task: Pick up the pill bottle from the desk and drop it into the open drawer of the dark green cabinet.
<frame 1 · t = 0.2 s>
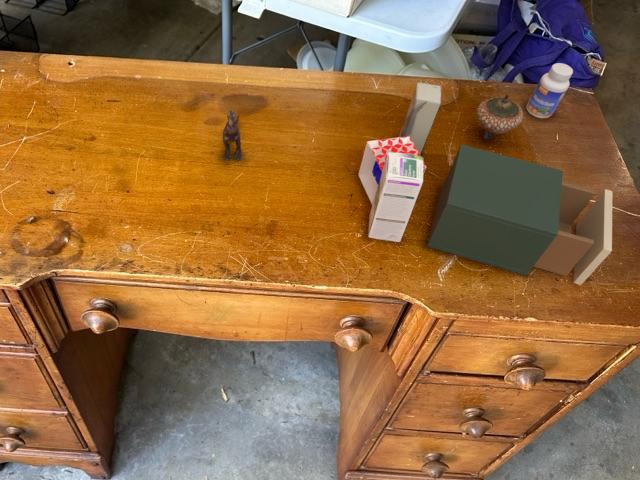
cabinet: (481, 230, 99), on the table
drawer: (551, 225, 93), point 5 cm above the table, slide at 7.0 cm
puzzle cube: (385, 187, 105), on the table
dinosaur model: (233, 145, 110), on the table
pill bottle: (538, 111, 118), on the table
box: (408, 149, 111), on the table
acorn: (487, 139, 113), on the table
syrup box: (383, 229, 99), on the table
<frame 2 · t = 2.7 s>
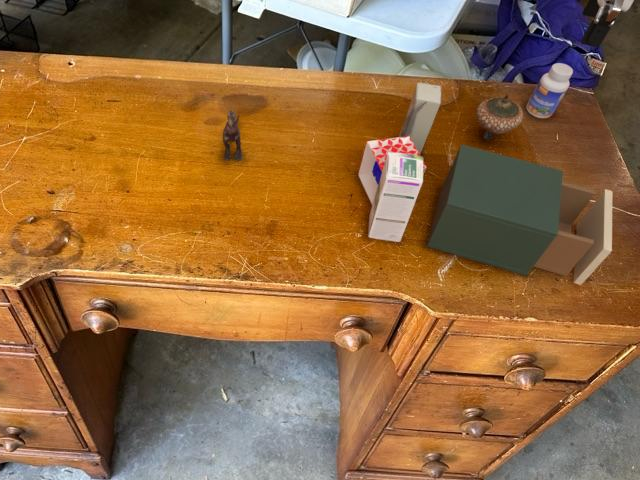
hand: (589, 29, 102), 19 cm above the table, tool pointing down, fingers open, 9 cm apart
nothing on the table moved.
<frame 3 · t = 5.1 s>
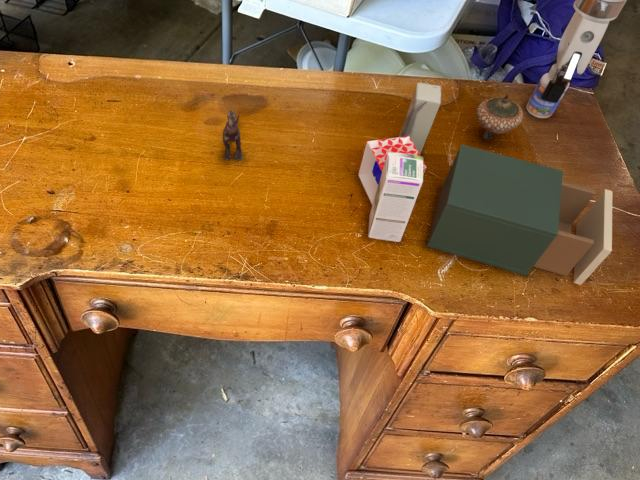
hand: (550, 90, 114), 5 cm above the table, tool pointing down, fingers closed on pill bottle, 5 cm apart
pill bottle: (538, 111, 118), on the table, touching gripper
everything else where it was.
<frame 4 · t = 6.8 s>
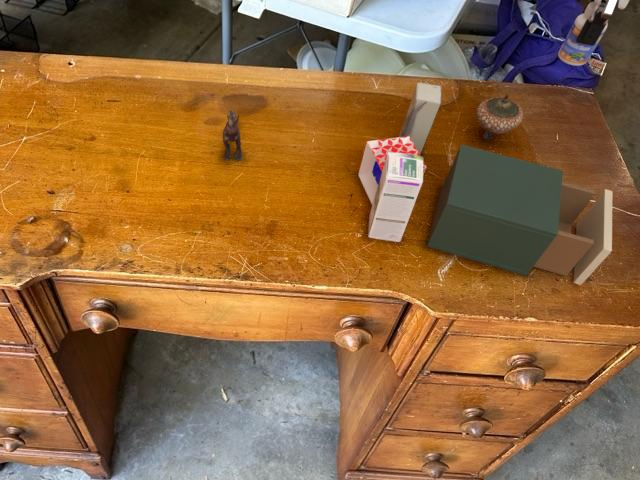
hand: (585, 33, 103), 17 cm above the table, tool pointing down, fingers closed on pill bottle, 5 cm apart
pill bottle: (571, 59, 107), point 12 cm above the table, touching gripper
everything else where it was.
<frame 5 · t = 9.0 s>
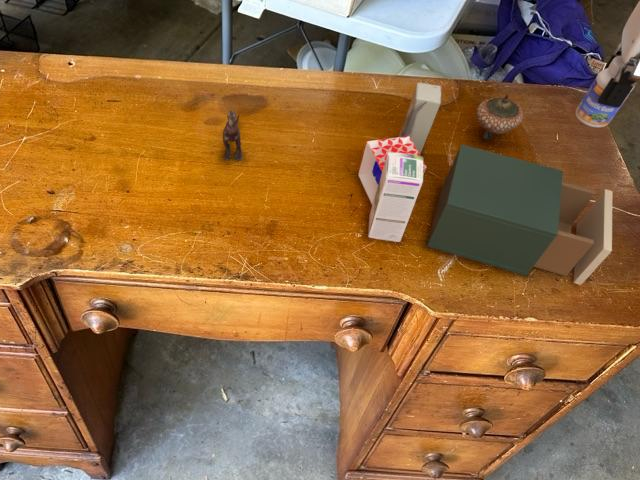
hand: (609, 91, 88), 21 cm above the table, tool pointing down, fingers closed on pill bottle, 5 cm apart
pill bottle: (591, 118, 92), point 16 cm above the table, touching gripper
everything else where it was.
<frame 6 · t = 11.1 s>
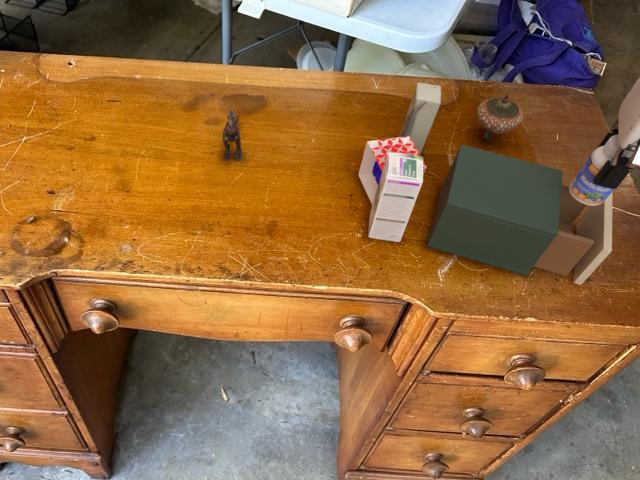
hand: (604, 170, 82), 18 cm above the table, tool pointing down, fingers closed on pill bottle, 5 cm apart
pill bottle: (585, 194, 87), point 13 cm above the table, touching gripper
everything else where it was.
when the fingers open (11 cm above the table, at t = 13.0 s): pill bottle drops 7 cm, resting on drawer.
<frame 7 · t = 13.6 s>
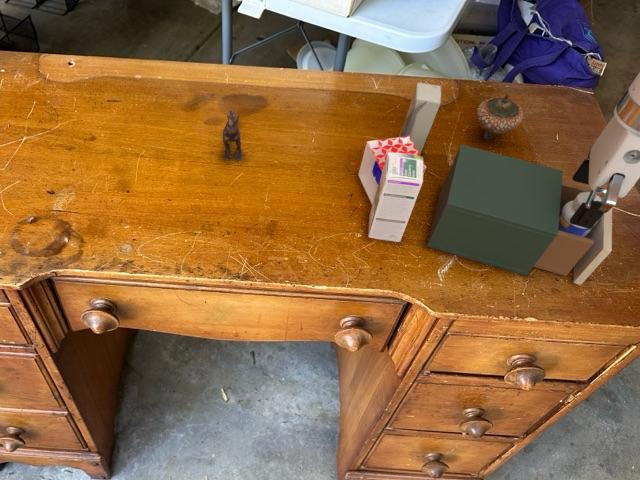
hand: (580, 202, 88), 11 cm above the table, tool pointing down, fingers open, 9 cm apart
drawer: (551, 225, 93), point 5 cm above the table, slide at 7.0 cm, touching pill bottle
pill bottle: (558, 242, 96), point 2 cm above the table, touching drawer
everything else where it was.
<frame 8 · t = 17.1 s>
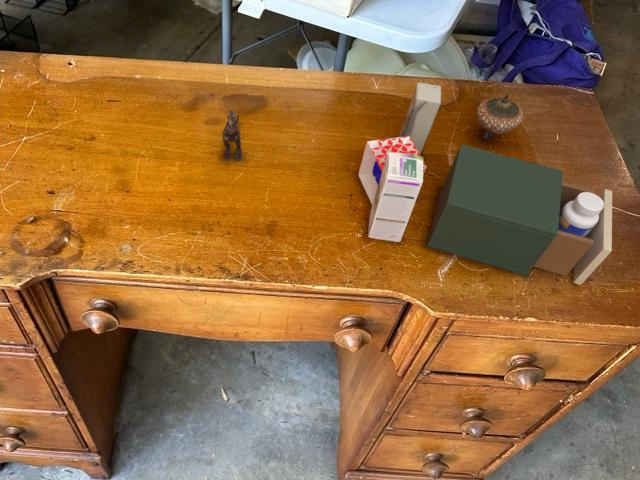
nothing on the table moved.
at the end: pill bottle inside the target area in the drawer (1.3 cm from its centre), point 1.8 cm above the cabinet's base; drawer slide at 7.0 cm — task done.
